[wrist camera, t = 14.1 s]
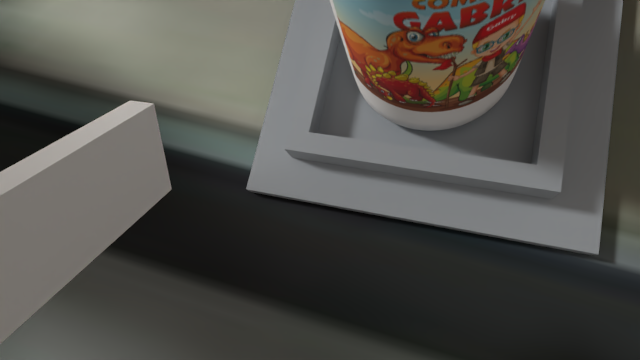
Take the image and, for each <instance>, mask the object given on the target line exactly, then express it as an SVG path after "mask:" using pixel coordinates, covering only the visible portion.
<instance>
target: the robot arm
mask: <svg viewBox="0 0 640 360" xmlns="http://www.w3.org/2000/svg"><path fill="white" fill-rule="evenodd" d="M170 190H172V188H171V183H170V178H169V174H168V169H167V164H166V159H165V154H164V149H163V145H162V140H161V135H160V130H159V125H158V121H157V116H156V111H155V106H154V104H153V103H146V102H138V101H128V102H126V103H125V104H123V105H121V106H119V107H117V108H116V109H114V110H112V111H110V112H108V113H106V114H105V115H103V116H101V117H99V118H97V119H96V120H94V121H92V122H90V123H88V124H87V125H85V126H83V127H81V128H79V129H77V130H76V131H74V132H72V133H70V134H68V135H67V136H65V137H63V138H61V139H59V140H57V141H56V142H54V143H52V144H50V145H48V146H47V147H45V148H43V149H41V150H39V151H37V152H36V153H34V154H32V155H30V156H28V157H27V158H25V159H23V160H21V161H19V162H17V163H16V164H14V165H12V166H10V167H8V168H7V169H5V170H3V171H1V172H0V344H1V343H2V342H3V341H4V340H5V339H6V338H8V337H9V336H10V335H11V334H12V333H13V332H14V331H15V330H16V329H18V328H19V327H20V326H21V325H22V324H23V323H24V322H25V321H26V320H28V319H29V318H30V317H31V316H32V315H33V314H34V313H35V312H36V311H37V310H39V309H40V308H41V307H42V306H43V305H44V304H45V303H46V302H47V301H49V300H50V299H51V298H52V297H53V296H54V295H55V294H56V293H57V292H59V291H60V290H61V289H62V288H63V287H64V286H65V285H66V284H67V283H69V282H70V281H71V280H72V279H73V278H74V277H75V276H76V275H77V274H78V273H80V272H81V271H82V270H83V269H84V268H85V267H86V266H87V265H88V264H90V263H91V262H92V261H93V260H94V259H95V258H96V257H97V256H98V255H100V254H101V253H102V252H103V251H104V250H105V249H106V248H107V247H108V246H109V245H111V244H112V243H113V242H114V241H115V240H116V239H117V238H118V237H119V236H121V235H122V234H123V233H124V232H125V231H126V230H127V229H128V228H129V227H131V226H132V225H133V224H134V223H135V222H136V221H137V220H138V219H139V218H141V217H142V216H143V215H144V214H145V213H146V212H147V211H148V210H149V209H150V208H152V207H153V206H154V205H155V204H156V203H157V202H158V201H159V200H160V199H162V198H163V197H164V196H165V195H166V194H167V193H168V192H169V191H170Z"/></svg>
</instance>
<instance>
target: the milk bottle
mask: <svg viewBox="0 0 640 360" xmlns="http://www.w3.org/2000/svg"><path fill="white" fill-rule="evenodd" d="M544 2H545V0H330V3H331V6H332V10H333V13H334V16H335V19H336V22H337V25H338V28H339V32H340V35H341V38H342V41H343V44H344V47H345V50H346V54H347V57H348V60H349V63H350V66H351V69H352V72H353V75H354V78H355V80H356V83H357V85H358V88H359V90H360V92H361V94H362V95H363V97H364V99H365V100H366V101H367V103H368V104H369V105H370V106H371V107H372V108H373V109H374V110H375V111H376V112H377V113H378V114H380V115H381V116H383V117H384V118H385V119H387V120H389V121H391V122H393V123H395V124H397V125H400V126H403V127H406V128H410V129H415V130H424V131H436V130H445V129H450V128H455V127H458V126H461V125H464V124H466V123H469V122H471V121H473V120H475V119H477V118H478V117H480V116H482V115H483V114H484V113H486V112H487V111H488V110H490V109H491V108H492V107H493V106H494V105H495V104H496V103H497V102H498V101H499V100H500V99H501V97H502V96H503V95H504V93H505V92H506V90H507V89H508V87H509V85H510V83H511V81H512V79H513V77H514V75H515V73H516V71H517V68H518V66H519V64H520V61H521V59H522V56H523V54H524V51H525V49H526V46H527V44H528V42H529V39H530V37H531V34H532V32H533V29H534V27H535V24H536V22H537V19H538V17H539V14H540V12H541V9H542V7H543V4H544Z"/></svg>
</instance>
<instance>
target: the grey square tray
mask: <svg viewBox="0 0 640 360" xmlns="http://www.w3.org/2000/svg"><path fill="white" fill-rule="evenodd" d="M622 7H623V0H545V2H544V4H543V7H542V9H541V12H540V14H539V17H538V19H537V22H536V24H535V27H534V29H533V32H532V34H531V37H530V39H529V42H528V44H527V46H526V49H525V51H524V54H523V56H522V59H521V61H520V64H519V66H518V68H517V71H516V73H515V75H514V77H513V79H512V81H511V83H510V85H509V87H508V89H507V90H506V92H505V93H504V95H503V96H502V97H501V99H500V100H499V101H498V102H497V103H496V104H495V105H494V106H493V107H492V108H491V109H490V110H488V111H487V112H486V113H484V114H483V115H482V116H480V117H478V118H477V119H475V120H473V121H471V122H469V123H466V124H464V125H461V126H458V127H455V128H450V129H445V130H436V131H424V130H415V129H410V128H406V127H403V126H400V125H397V124H395V123H393V122H391V121H389V120H387V119H385V118H384V117H383V116H381V115H380V114H378V113H377V112H376V111H375V110H374V109H373V108H372V107H371V106H370V105H369V104H368V103H367V101H366V100H365V99H364V97H363V95H362V94H361V92H360V90H359V88H358V85H357V83H356V80H355V78H354V75H353V72H352V69H351V66H350V63H349V60H348V57H347V54H346V50H345V47H344V44H343V41H342V38H341V35H340V32H339V28H338V25H337V22H336V19H335V16H334V13H333V10H332V6H331V3H330V0H295V4H294V8H293V12H292V15H291V19H290V23H289V27H288V31H287V35H286V38H285V42H284V46H283V50H282V54H281V57H280V61H279V65H278V69H277V73H276V77H275V80H274V84H273V88H272V92H271V96H270V100H269V103H268V107H267V111H266V115H265V119H264V123H263V126H262V130H261V134H260V138H259V142H258V146H257V149H256V153H255V157H254V161H253V165H252V168H251V172H250V176H249V180H248V184H247V188H246V189H247V190H248V191H250V192H254V193H259V194H265V195H270V196H276V197H281V198H286V199H292V200H297V201H302V202H308V203H313V204H318V205H324V206H329V207H335V208H340V209H345V210H351V211H356V212H361V213H367V214H372V215H378V216H383V217H388V218H394V219H399V220H404V221H410V222H415V223H421V224H426V225H431V226H437V227H442V228H447V229H453V230H458V231H463V232H469V233H474V234H480V235H485V236H490V237H496V238H501V239H506V240H512V241H517V242H523V243H528V244H533V245H539V246H544V247H549V248H555V249H560V250H566V251H571V252H576V253H582V254H587V255H592V256H594V255H598V254H599V245H600V235H601V224H602V214H603V204H604V193H605V183H606V173H607V162H608V152H609V141H610V131H611V121H612V110H613V100H614V90H615V79H616V69H617V58H618V48H619V38H620V27H621V17H622Z"/></svg>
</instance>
